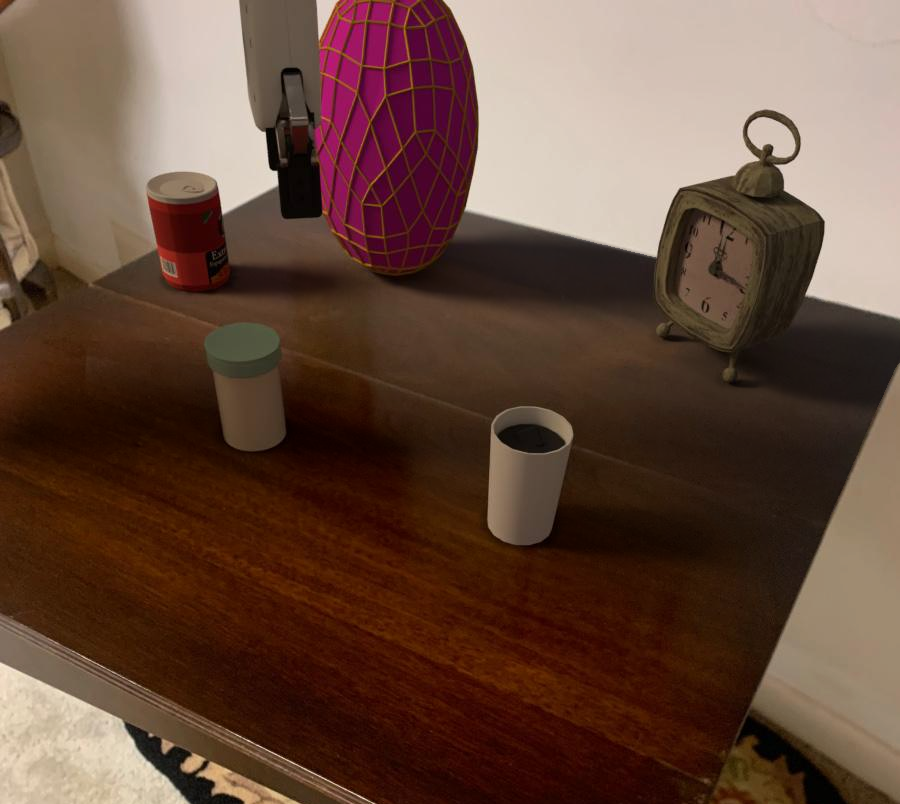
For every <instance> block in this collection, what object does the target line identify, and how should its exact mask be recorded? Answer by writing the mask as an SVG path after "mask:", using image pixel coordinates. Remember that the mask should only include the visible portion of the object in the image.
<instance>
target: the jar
mask: <svg viewBox="0 0 900 804" xmlns="http://www.w3.org/2000/svg"><path fill="white" fill-rule="evenodd" d="M280 368H281V367H280V364H279V365H278V366H277V367H276V368H274V369H273V370H271V371H270V372H268V373H265V374H263V375H259V376H255V377H249V378H234V377H227V376H224V375H221V374H218V373H216V372H215V371H213V370H212V369H211V371H212V377H213V382H214V389H215V393H216V394H215V395H216V401H217V406H218V412H219V418H220V423H221V431H222V436H223V439H224V441H225V442H226V443H227V444H228V445H229V446H230V447H232V448H233V449H236V450H239V451H243V452H260V451H265V450H269V449H272V448H274V447H276V446H278V445H279V444H280V443H282V441H283V440H284V439H285V438H286V435H287V423H286V415H285V406H284V397H283V388H282V378H281V369H280Z"/></svg>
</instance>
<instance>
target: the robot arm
mask: <svg viewBox="0 0 900 804" xmlns="http://www.w3.org/2000/svg"><path fill="white" fill-rule="evenodd" d="M317 3H318V2H317V0H238V4H239V13H240V14H239V17H240V24H241V25H240V26H241V35H242V45H243V52H244V53H243V55H244V66H245V76H246V86H247V96H248V101H249V106H250V111H251V114H252V119H253V123H254V125H255V127H256V128H257V130H259V131H260V132H263V133H265V141H266V143H265V144H266V150H267V151H266V152H267V162H268V167H269V169H270V170H271V171H272V172H276V174H277V185H278V196H279V206H280V207H279V208H280V214H281V216H282V218H283V219H284V220H295V219H297V220H299V219H314V218H315V219H316V218H320V217H322V215H323V212H322V197H321V180H320V164H319V162H318V160H317V151H316V143H315V136H314V130H315V129H316V128H318V126H319V125H320V124H321V77H320V53H319V40H320V37H319V19H318V4H317Z"/></svg>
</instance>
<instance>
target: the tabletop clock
mask: <svg viewBox="0 0 900 804" xmlns="http://www.w3.org/2000/svg"><path fill="white" fill-rule="evenodd" d="M760 118H766V119H770V120H772V121H776V122H777V123H780V124H781V125H783V126H785V127H786V128H787V129H788V131H790V132H791V135H792V137H793V139H794V144H795V147H794V151H793V153H792V154H791V155H789V156H786V157H781V156H780V157H778V156H776V155H773V152H774V148H775V147H774V146H773V144H771V143H767V144H764V145H763V147H762V149H760V148H758V147H757V146H756V145H755V144H754V143H753V142H752V140H751V139H750V137H749V134H748V133H749V126H750V125H751V124H752V122H754V121H756V120H757V119H760ZM801 138H802V137H801V135H800V131H799V129H798V126H796V124H795V123H794V121H793V120H792V119H791V118H789V117H788V116H787V115H786V114H784V113H781V112H779V111H777V110H773V109H761V110H757V111H755V112H753V113H752V114H750V115H749V116H748V117H747V119H746V120H745V122H744V125H743V127H742V139H743V142H744V144H745V147H746V148H747V149H748V151H749V152H750V153H751V154H752V155H753V156H755V158H757V159H758V160H756V161H751V162H747V163H745V164H744V165H743V166H741V167H740V168H739V169H738V170H737V171H736V173H735V174H734V175H729V176H724V177H719V178H715V179H711V180H708V181H707V180H706V181H703V182H699V183H695V184H691V185H686V186H682V187H679V188H678V189H677V191H676V192H675V195H674V196H673V198H672V200H671V203H670V205H669V208H668V210H667V213H666V216H665V220H664V224H663V227H662V231H661V234H660V238H659V242H658V247H657V252H656V259H655V264H654V272H653V281H652V282H653V284H652V292H653V295H652V296H653V303H654V304H655V306H656V307H657V308H658V310H659V311H660V312H661V313H662V315H664V317H665V318H667V319H668V320H669V321H668V322H661V323H659V324H658V325H657V327H656V329H655V330H656V331H655V332H656V335H657V336H658V337H660V338H666V337H668V336H669V335H670V334H671V330H672V328H671V327H672V326H674V325H675V326H677V327H678V328H679V329H681V330H682V331H683V332H684V333H686V334H687V335H689V337H692V338H693V339H696V340H697V341H699V342H701V343H703V344H704V345H706V346H708V347H710V348H712V349H714V350H715V351H719V352H721V353H722V352H723V353H730V357H729V366H728V367H727V368H725V369H724V370H723V372H722V379H723V381H724V382H726V383H728V384H729V383H735V381H736V380H737V379H738V377H739V372H738V369H737V368H735V367H736V363H737V359H738V356H739V353H740V351H742V350H743V349H747V348H750V347H753V346H757V345H759V344H761V343H765V342H767V341H770V340H773V339H776V338H779V337H781V336H782V335H783V334H784V333H785V332H786V331H787V330H788V329H789V327H790V326H791V324H792V322H793V321H794V319H795V317H796V316H797V314H798V312H799V310H800V309H801V306H802V304H803V302H804V299H805V297H806V295H807V293H808V290H809V288H810V285H811V282H812V280H813V277H814V275H815V270H816V267H817V264H818V261H819V258H820V254H821V251H822V248H823V244H824V240H825V239H824V238H825V229H826V221H825V220H824V218H823V217H822V215H821V214H820V213H819V212H818V211H817V210H816V209H815V208H813V207H811V206H810V205H809V204H807V203H806V202H804V201H802V200H801V199H799V198H798V197H796V196H795V195H793V194H791V193H789V192H788V191H786V190H785V179H784V175H783V172H782V171H781V169H780V168H779V167H777V166H783V165H787V164H789V163H791V162H793V161H795V159H796V158H797V157H798V156H799V154H800V152H801V146H802V139H801Z"/></svg>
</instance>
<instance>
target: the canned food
mask: <svg viewBox="0 0 900 804" xmlns="http://www.w3.org/2000/svg"><path fill="white" fill-rule="evenodd" d="M145 189H146V190H145V191H146V193H145V194H146V198H147V203H148V208H149V213H150V218H151V222H152V228H153V232H154V239H155V242H156V247H157V253H158V257H159V258H158V259H159V262H160V266H161V271H162V275H163V277H164V279H165V281H166V283H167V284H168V285H169V286H171V287H173V288H174V289H177V290H181V291H184V292H195V293H196V292H207V291H211V290H215V289H217V288H219V287H221V286H223V285H224V284H225V283H227V281H228V280H229V278H230V272H231V268H230V261H229V254H228V246H227V238H226V232H225V223H224V217H223V210H222V209H223V208H222V201H221V196H220V190H219V186H218V182H217V180H216V179H215V178H213V177H212V176H210V175H207V174H204V173H201V172H196V171H171V172H165V173H162V174H159V175H156V176H154V177H152V178H150V179H149V180H148V181H147V182H146V184H145Z"/></svg>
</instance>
